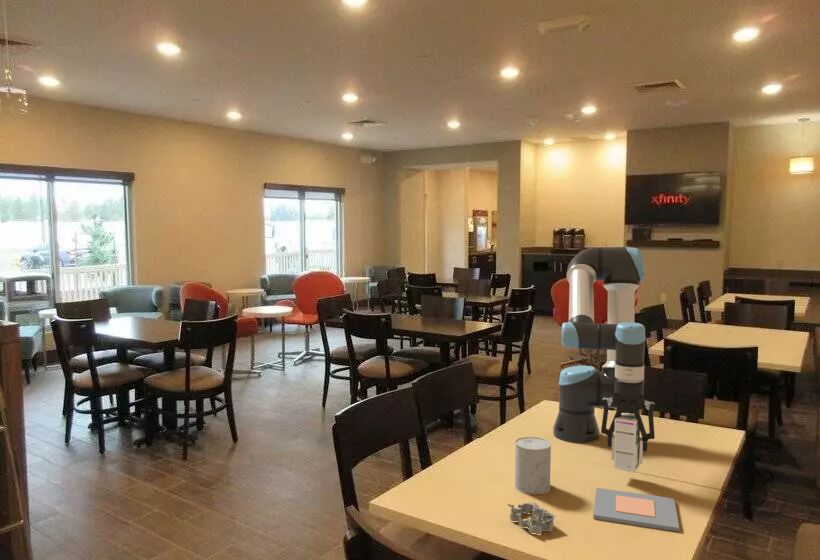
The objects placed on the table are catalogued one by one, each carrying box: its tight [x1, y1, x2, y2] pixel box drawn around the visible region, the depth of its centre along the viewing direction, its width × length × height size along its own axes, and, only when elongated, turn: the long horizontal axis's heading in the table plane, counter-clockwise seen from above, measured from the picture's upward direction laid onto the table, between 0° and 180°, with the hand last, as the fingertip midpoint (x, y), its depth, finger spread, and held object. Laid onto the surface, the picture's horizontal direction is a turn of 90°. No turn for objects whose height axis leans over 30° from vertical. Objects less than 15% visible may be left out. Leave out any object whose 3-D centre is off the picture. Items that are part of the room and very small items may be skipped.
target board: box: [592, 487, 680, 532], centre depth 148 cm, size 19×16×1 cm
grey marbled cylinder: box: [514, 436, 552, 495], centre depth 161 cm, size 10×10×12 cm
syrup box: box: [613, 413, 641, 473], centre depth 165 cm, size 6×6×14 cm
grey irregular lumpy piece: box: [507, 501, 557, 534], centre depth 141 cm, size 11×8×4 cm
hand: (626, 459), depth 165 cm, fingers closed on syrup box, 6 cm apart
